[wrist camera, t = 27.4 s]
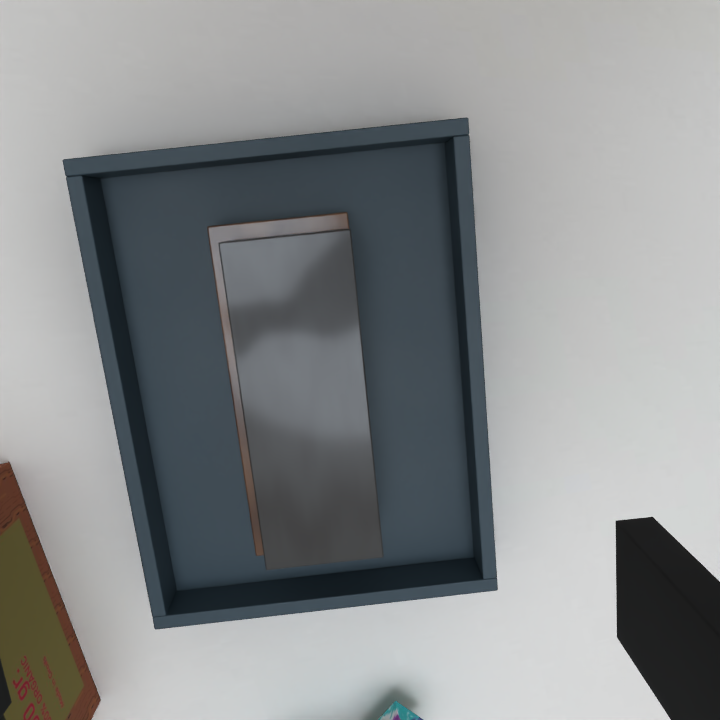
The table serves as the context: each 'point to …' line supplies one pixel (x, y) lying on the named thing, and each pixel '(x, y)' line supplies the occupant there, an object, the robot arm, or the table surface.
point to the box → (36, 624)
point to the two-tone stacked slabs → (299, 387)
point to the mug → (398, 713)
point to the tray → (211, 377)
